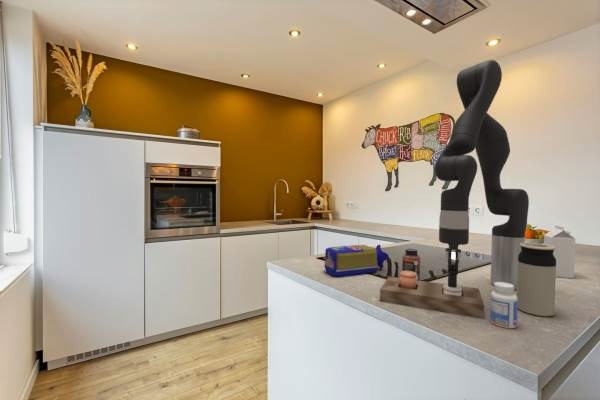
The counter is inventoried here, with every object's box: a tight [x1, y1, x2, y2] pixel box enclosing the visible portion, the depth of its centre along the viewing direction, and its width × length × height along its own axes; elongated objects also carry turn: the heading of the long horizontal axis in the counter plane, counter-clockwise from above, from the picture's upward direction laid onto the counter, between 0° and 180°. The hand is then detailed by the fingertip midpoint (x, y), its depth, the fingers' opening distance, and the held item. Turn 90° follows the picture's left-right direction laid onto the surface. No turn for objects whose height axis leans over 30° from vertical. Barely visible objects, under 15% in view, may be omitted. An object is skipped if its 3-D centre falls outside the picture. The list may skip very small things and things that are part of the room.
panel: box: [379, 276, 485, 319], centre depth 86 cm, size 26×14×4 cm, turn 63°
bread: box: [324, 243, 390, 278], centre depth 117 cm, size 10×25×10 cm, turn 112°
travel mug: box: [516, 242, 557, 317], centre depth 79 cm, size 8×8×18 cm
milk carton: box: [543, 225, 576, 279], centre depth 112 cm, size 7×7×19 cm
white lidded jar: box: [443, 283, 462, 296], centre depth 84 cm, size 5×5×5 cm
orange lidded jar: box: [399, 271, 416, 290], centre depth 89 cm, size 5×5×5 cm
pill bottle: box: [490, 282, 518, 329], centre depth 71 cm, size 6×5×10 cm
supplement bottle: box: [401, 248, 421, 281], centre depth 105 cm, size 6×6×11 cm
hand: (452, 286), depth 84 cm, fingers closed
